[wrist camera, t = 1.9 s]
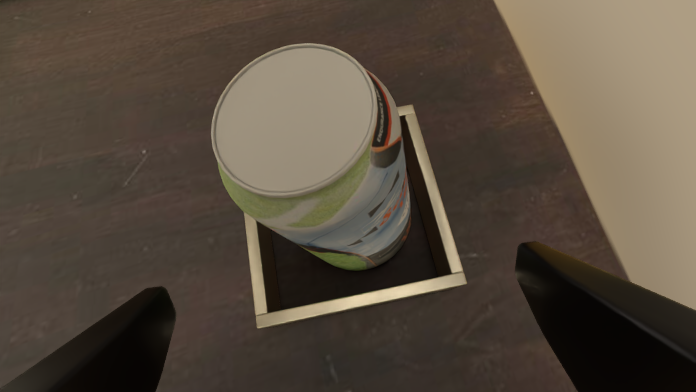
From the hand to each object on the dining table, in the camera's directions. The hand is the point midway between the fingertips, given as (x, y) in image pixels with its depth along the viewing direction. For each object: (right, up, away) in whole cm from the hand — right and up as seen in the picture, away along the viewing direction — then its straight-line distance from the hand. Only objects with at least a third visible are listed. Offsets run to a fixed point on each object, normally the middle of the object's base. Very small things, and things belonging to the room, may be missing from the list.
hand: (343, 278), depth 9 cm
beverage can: (0, +1, +12) cm, 12 cm away
